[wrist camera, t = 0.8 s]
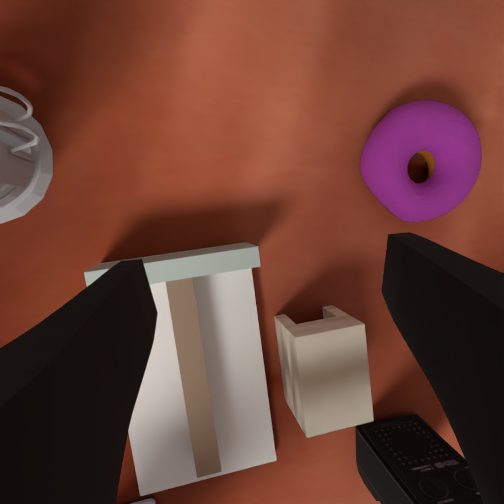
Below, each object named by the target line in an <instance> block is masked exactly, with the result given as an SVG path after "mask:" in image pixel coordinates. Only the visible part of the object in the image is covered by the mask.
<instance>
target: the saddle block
mask: <svg viewBox="0 0 504 504" xmlns="http://www.w3.org/2000/svg"><path fill="white" fill-rule="evenodd" d="M322 310H323V319H321V320H315V321H310V322H305V323H300V324H295V323H294V322H293V321H292V320H291V319H290V318H289V317H288V316H287V315H285V314H282V315H277V316H274V317H275V325H276V334H277V342H278V350H279V358H280V366H281V374H282V382H283V390H284V398H285V401H286V402H287V404H288V406H289V408H290V409H291V411H292V413H293V415H294V416H295V418H296V420H297V422H298V423H299V425H300V427H301V429H302V430H303V432H304V434H305V436H306V437H307V438H309V437H313V436H317V435H321V434H325V433H328V432H332V431H336V430H340V429H344V428H348V427H352V426H356V425H360V424H364V423H368V422H372V421H374V419H373V408H372V397H371V387H370V376H369V365H368V354H367V344H366V333H365V324H364V323H362V322H361V321H359V320H357V319H355V318H354V317H352V316H350V315H348V314H347V313H345V312H343V311H342V310H340V309H338V308H336V307H335V306H333V305H330V306H325V307H322Z"/></svg>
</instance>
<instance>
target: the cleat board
mask: <svg viewBox="0 0 504 504" xmlns="http://www.w3.org/2000/svg"><path fill="white" fill-rule="evenodd" d="M134 259H142V261H143V264H144V267H145V271H146V274H147V278H148V281H149V285H150V288H151V292H152V295H153V298H154V302H155V305H156V309H157V312H158V315H157V322H156V330H155V336H154V342H153V346H152V349H151V353H150V356H149V360H148V363H147V367H146V370H145V373H144V377H143V380H142V383H141V387H140V390H139V393H138V397H137V400H136V403H135V407H134V410H133V414H132V417H131V421H130V425H129V430H128V432H129V437H130V443H131V448H132V454H133V459H134V465H135V470H136V476H137V481H138V487H139V492H140V496H144V495H147V494H151V493H155V492H159V491H163V490H166V489H170V488H174V487H178V486H182V485H185V484H189V483H193V482H197V481H201V480H204V479H208V478H212V477H216V476H220V475H224V474H227V473H231V472H235V471H239V470H243V469H246V468H250V467H254V466H258V465H262V464H265V463H269V462H273V461H276V453H275V446H274V438H273V430H272V423H271V415H270V407H269V400H268V392H267V384H266V377H265V369H264V361H263V354H262V346H261V338H260V331H259V323H258V315H257V308H256V300H255V292H254V285H253V277H252V269H251V268H255V267H261V266H260V258H259V250H258V246H255V245H253V244H250V243H247V242H242V243H235V244H228V245H221V246H215V247H208V248H201V249H194V250H187V251H180V252H174V253H167V254H160V255H153V256H146V257H139V258H133V259H126V260H134ZM120 261H124V260H119V261H112V262H105V263H100V264H98V265H97V266H95V267H93V268H91V269H89V270H88V271H86V272H84V274H85V279H86V285H87V287H88V286H89V285H90V284H91V283H93V282H94V281H95V280H96V279H98V278H99V277H100V276H101V275H103V274H104V273H105V272H106V271H108V270H109V269H110V268H112V267H113V266H114V265H116V264H117V263H119V262H120Z"/></svg>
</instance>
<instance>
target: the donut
mask: <svg viewBox="0 0 504 504" xmlns="http://www.w3.org/2000/svg"><path fill="white" fill-rule="evenodd" d="M415 153H418V154H420V155H422V156H423V157H424V158H425V160H426V162H427V164H428V169H429V171H428V177H427V179H426V180H425V181H424V182H423V183H415V182H413V181H412V180H411V179H410V178H409V175H408V167H407V166H408V163H409V160H410V159H411V157H412V156H413V155H414V154H415ZM481 158H482V156H481V144H480V138H479V134H478V132H477V130H476V128H475V126H474V125H473V123H472V122H471V120H470V119H469V118H468V117H467V116H466V115H465V114H464V113H462V112H461V111H459V110H458V109H456V108H454V107H452V106H451V105H448V104H445V103H442V102H437V101H432V100H420V101H414V102H410V103H406V104H404V105H401V106H399V107H397V108H394V109H392V110H391V111H389V113H388V114H387V115H386V116H385V117H384V118H383V119H382V120H381V121H380V122H379V123H378V124H377V125H376V127H375V128H374V129H372V131H371V133H370V136H369V138H368V140H367V142H366V144H365V146H364V149H363V152H362V155H361V161H360V170H361V175H362V177H363V180H364V182H365V183H366V185H367V187H368V188H369V189H370V191H371V192H372V193H373V194H374V195H375V196H376V198H377V199H378V200H379V202H380V204H381V205H383V206H384V207H386V208H387V209H388V210H389V211H390V212H391V213H393V214H394V215H395V216H397V217H398V218H400V219H401V220H403V221H407V222H422V221H427V220H431V219H434V218H437V217H440V216H442V215H444V214H446V213H448V212H449V211H451V210H453V209H454V208H455V207H457V206H458V205H459V204H460V203H461V202H462V201H463V200H464V199H465V198H466V197H467V195H468V194H469V192H470V191H471V189H472V188H473V186H474V184H475V182H476V180H477V177H478V175H479V171H480V167H481Z"/></svg>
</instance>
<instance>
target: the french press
mask: <svg viewBox="0 0 504 504" xmlns="http://www.w3.org/2000/svg"><path fill="white" fill-rule="evenodd" d="M0 91H1V92H4V93H7V94H10V95H13V96H15V97H18V98H19V99H20V100H21V101H23V102H24V103H25V104H26V105H27V107H28V110H27V111H26V110H25V109H24V108H23V107H22V106H21V105H19V104H17V103H15V102H12V101H10V100H8V99H6V98H4V97H2V96H0V224H1V223H4V222H7V221H10V220H12V219H15V218H18V217H21V216H24V215H25V214H26V213H27V212H28V211H30V210H31V209H32V208H33V207H34V206H35V205H36V204H37V203H38V202H39V201H41V200H42V199H43V197H44V195H45V193H46V190H47V188H48V186H49V183H50V181H51V179H52V176H53V155H52V148H51V146H50V144H49V141H48V139H47V137H46V135H45V133H44V130H43V128H42V126H41V125H40V124H39V123H38V122H37V121H36V120H35V119H34V118H33V117H32V116H31V115H32V112H33V107H32V105H31V103H30V101H28V100H27V99H26V98H25V97H24V96H22V95H21V94H19V93H17V92H15V91H13V90H11V89H9V88H6V87H2V86H0Z"/></svg>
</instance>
